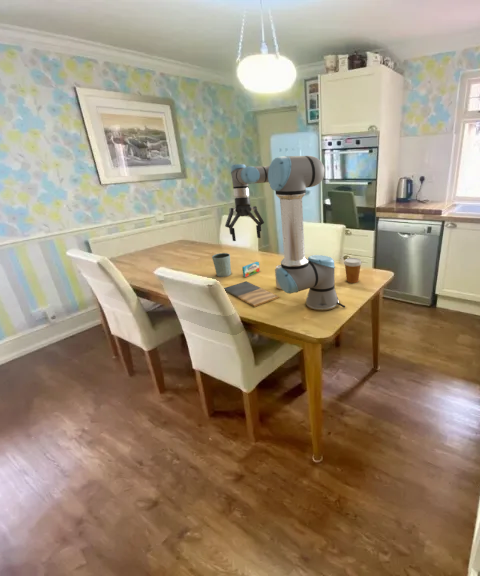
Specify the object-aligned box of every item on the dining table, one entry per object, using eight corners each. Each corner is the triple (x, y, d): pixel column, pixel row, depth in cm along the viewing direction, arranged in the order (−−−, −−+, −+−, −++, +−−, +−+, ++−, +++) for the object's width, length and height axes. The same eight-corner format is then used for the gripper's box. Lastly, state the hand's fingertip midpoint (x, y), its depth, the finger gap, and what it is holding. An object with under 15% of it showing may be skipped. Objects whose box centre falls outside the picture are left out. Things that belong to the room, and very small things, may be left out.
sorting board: (278, 297, 158) (278, 296, 158) (254, 307, 149) (254, 305, 149) (246, 282, 178) (246, 281, 178) (223, 290, 169) (223, 288, 169)
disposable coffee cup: (364, 280, 176) (365, 259, 172) (354, 285, 170) (354, 264, 166) (351, 276, 183) (351, 256, 178) (340, 281, 176) (340, 260, 172)
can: (288, 290, 166) (286, 268, 162) (274, 289, 168) (272, 268, 163) (292, 285, 173) (290, 264, 168) (278, 284, 174) (277, 263, 170)
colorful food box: (258, 271, 196) (257, 261, 194) (259, 271, 195) (258, 261, 193) (243, 276, 187) (242, 266, 185) (245, 277, 186) (243, 267, 184)
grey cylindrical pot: (234, 271, 196) (232, 253, 191) (228, 277, 187) (226, 258, 182) (219, 271, 197) (216, 253, 192) (212, 277, 188) (209, 258, 183)
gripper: (261, 196, 170) (265, 236, 176) (215, 198, 158) (221, 241, 164) (267, 195, 164) (271, 237, 170) (219, 198, 152) (225, 242, 158)
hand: (246, 239), depth 167 cm, fingers open, 13 cm apart
